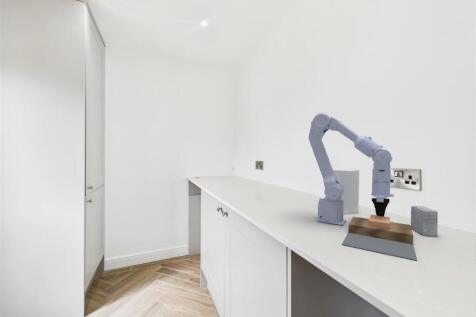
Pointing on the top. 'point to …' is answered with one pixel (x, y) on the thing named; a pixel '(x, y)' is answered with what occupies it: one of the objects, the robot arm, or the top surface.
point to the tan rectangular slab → (379, 222)
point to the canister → (349, 189)
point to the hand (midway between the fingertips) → (380, 218)
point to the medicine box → (424, 220)
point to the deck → (381, 230)
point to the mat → (380, 246)
